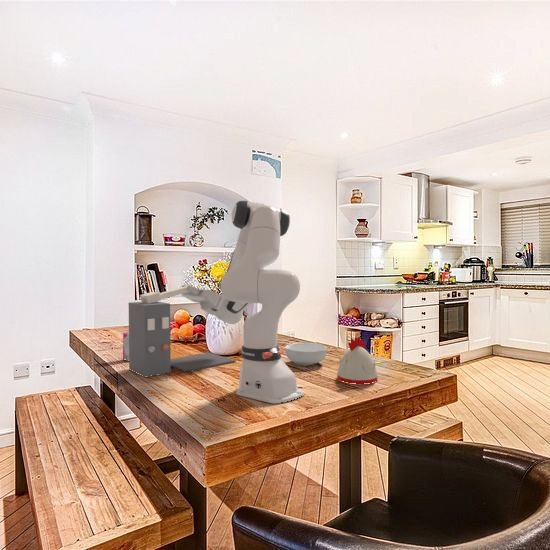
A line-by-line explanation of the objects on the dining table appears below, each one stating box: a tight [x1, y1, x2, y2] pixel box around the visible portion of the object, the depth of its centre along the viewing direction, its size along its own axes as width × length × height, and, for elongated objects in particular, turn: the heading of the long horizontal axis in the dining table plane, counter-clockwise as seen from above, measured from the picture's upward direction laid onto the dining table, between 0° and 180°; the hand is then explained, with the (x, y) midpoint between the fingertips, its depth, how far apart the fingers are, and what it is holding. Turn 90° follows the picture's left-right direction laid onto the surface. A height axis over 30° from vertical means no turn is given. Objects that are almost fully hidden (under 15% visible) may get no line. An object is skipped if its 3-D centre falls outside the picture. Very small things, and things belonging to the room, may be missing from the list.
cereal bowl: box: [284, 342, 328, 367], centre depth 171 cm, size 17×17×7 cm
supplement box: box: [122, 332, 129, 360], centre depth 177 cm, size 6×6×12 cm
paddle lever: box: [139, 285, 190, 304], centre depth 163 cm, size 6×20×3 cm, turn 132°
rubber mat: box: [171, 352, 236, 373], centre depth 172 cm, size 20×24×1 cm
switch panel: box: [128, 301, 172, 377], centre depth 158 cm, size 15×10×26 cm
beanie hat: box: [336, 336, 378, 384], centre depth 148 cm, size 14×14×15 cm
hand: (185, 286), depth 168 cm, fingers closed on paddle lever, 3 cm apart
